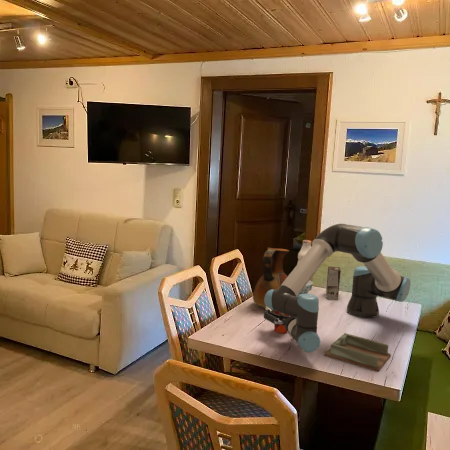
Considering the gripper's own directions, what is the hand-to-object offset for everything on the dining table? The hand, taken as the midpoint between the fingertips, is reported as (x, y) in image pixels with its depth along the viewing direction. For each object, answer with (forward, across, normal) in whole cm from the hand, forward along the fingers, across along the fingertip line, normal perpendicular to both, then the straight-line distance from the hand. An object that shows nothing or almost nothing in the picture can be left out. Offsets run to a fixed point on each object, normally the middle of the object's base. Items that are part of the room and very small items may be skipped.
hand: (279, 308), depth 189 cm
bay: (-30, +22, -8) cm, 38 cm away
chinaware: (+45, +25, -9) cm, 52 cm away
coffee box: (+41, +43, -9) cm, 60 cm away
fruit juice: (+58, +33, -9) cm, 67 cm away
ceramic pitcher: (+25, +5, -9) cm, 27 cm away
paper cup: (-4, 0, -9) cm, 10 cm away
